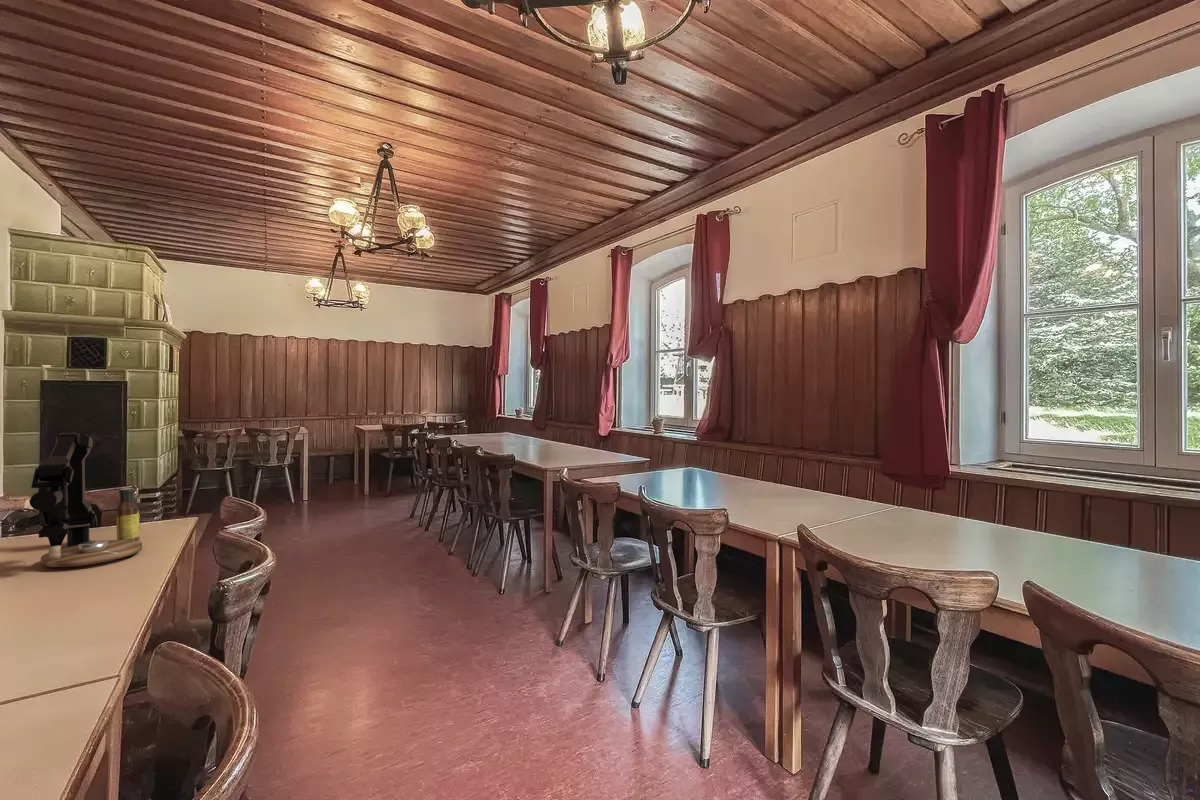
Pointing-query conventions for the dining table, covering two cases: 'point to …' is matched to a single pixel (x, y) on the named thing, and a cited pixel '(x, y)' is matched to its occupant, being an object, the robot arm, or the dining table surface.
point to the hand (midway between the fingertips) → (55, 551)
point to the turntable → (89, 554)
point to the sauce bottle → (127, 516)
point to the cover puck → (93, 546)
